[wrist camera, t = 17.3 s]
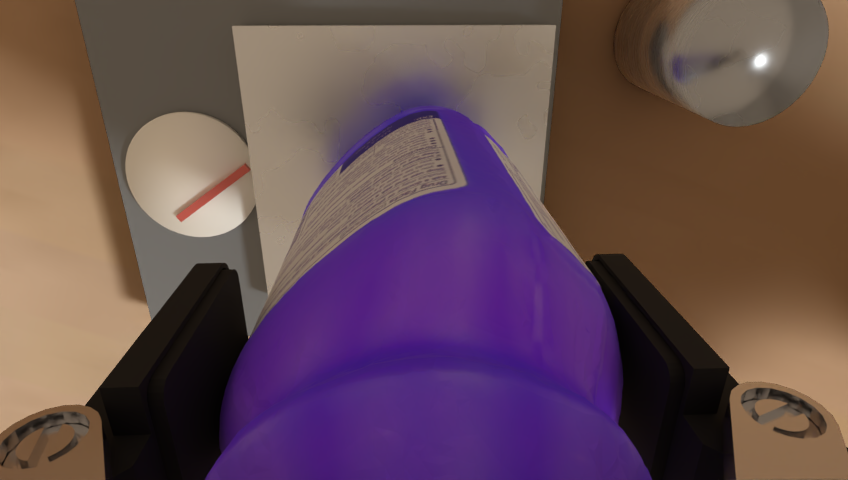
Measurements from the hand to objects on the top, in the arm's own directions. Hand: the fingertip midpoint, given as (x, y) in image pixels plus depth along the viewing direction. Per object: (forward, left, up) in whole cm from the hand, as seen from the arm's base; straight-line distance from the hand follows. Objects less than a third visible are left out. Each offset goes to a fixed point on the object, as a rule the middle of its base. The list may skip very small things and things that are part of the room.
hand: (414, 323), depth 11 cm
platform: (0, 0, -11) cm, 11 cm away
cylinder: (-11, -5, -13) cm, 18 cm away
